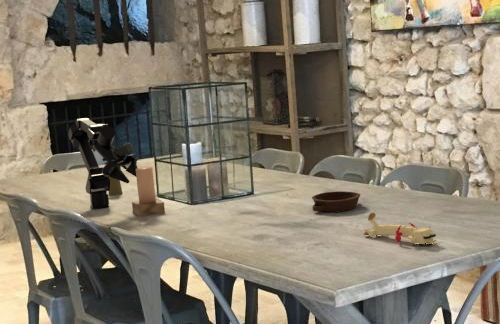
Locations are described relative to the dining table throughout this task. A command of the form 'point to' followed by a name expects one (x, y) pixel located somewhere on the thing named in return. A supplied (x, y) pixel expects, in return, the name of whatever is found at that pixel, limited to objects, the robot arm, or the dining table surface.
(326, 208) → the dish
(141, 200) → the salmon pink block
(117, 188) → the olive chess pawn
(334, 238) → the dining table surface
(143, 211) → the walnut riser
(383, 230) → the cat figure
